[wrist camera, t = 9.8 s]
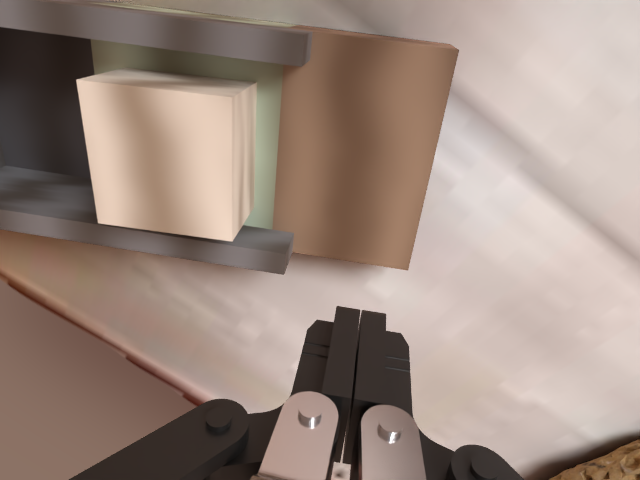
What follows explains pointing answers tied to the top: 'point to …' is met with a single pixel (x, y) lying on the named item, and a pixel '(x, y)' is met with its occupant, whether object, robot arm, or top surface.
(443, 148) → the top surface
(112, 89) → the block
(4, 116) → the lane
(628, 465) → the sponge
